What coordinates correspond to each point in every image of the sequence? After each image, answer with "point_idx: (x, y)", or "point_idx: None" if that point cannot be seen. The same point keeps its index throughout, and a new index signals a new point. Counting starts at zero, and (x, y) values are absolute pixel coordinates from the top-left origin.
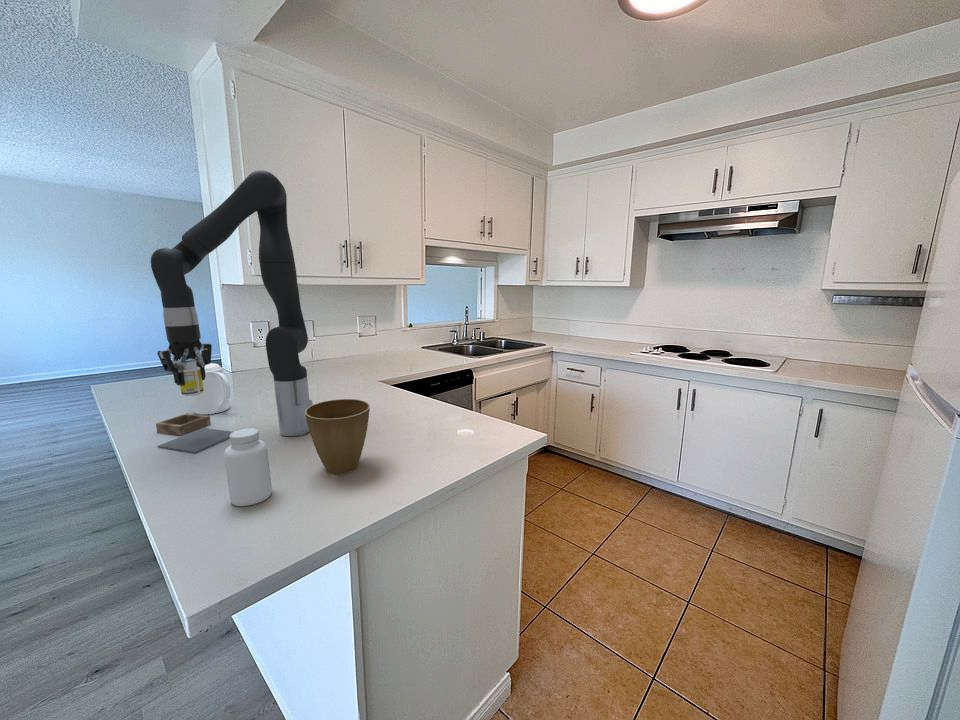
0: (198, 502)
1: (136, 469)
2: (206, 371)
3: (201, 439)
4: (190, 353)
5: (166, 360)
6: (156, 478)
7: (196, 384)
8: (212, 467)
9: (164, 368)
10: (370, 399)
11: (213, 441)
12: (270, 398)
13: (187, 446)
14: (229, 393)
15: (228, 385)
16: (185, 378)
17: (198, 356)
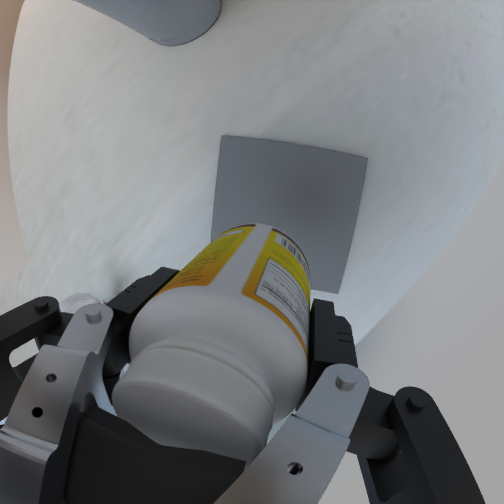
0: (501, 30)
1: (446, 235)
2: None
3: (287, 207)
4: (112, 495)
5: (479, 489)
6: (476, 154)
7: (265, 243)
8: (420, 63)
9: (400, 457)
10: (23, 47)
11: (296, 158)
12: (37, 258)
13: (338, 208)
14: (79, 294)
15: (62, 304)
16: (304, 317)
17: (58, 390)
